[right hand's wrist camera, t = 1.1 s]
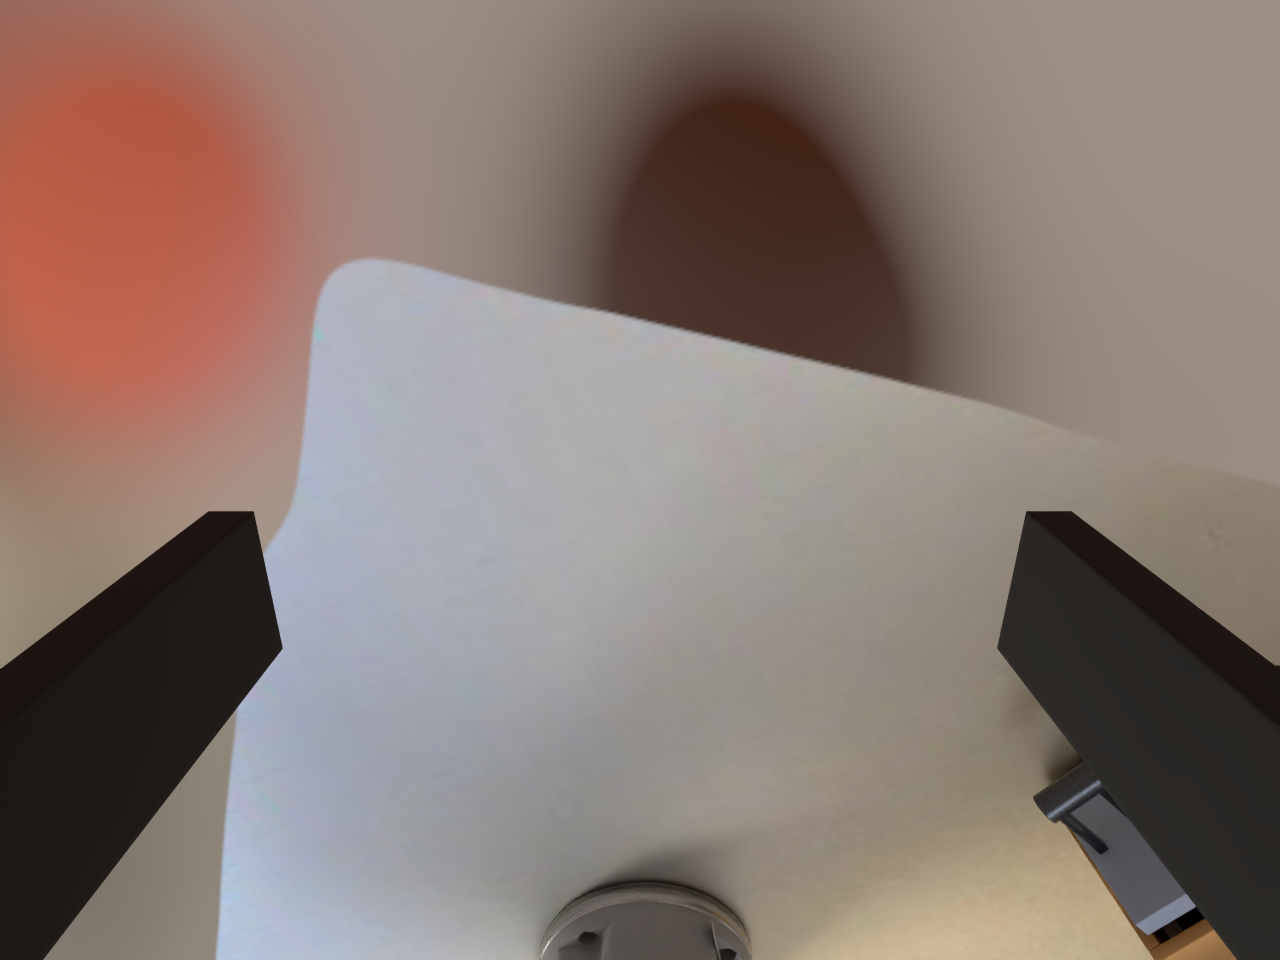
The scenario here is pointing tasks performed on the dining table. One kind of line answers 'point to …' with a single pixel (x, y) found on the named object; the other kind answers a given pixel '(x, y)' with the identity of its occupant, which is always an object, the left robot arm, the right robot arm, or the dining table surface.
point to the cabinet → (1189, 954)
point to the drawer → (1119, 852)
